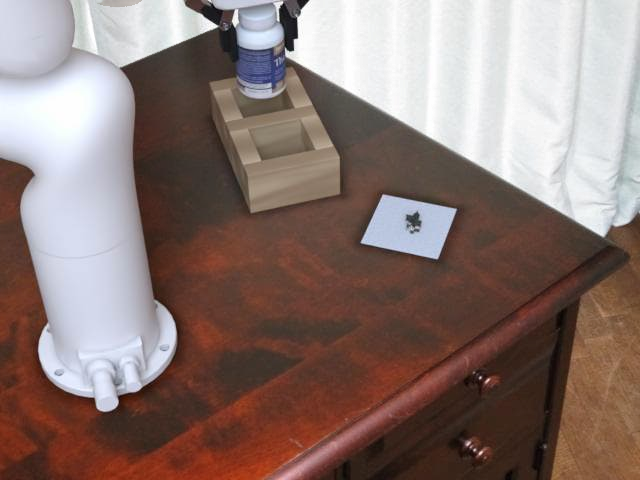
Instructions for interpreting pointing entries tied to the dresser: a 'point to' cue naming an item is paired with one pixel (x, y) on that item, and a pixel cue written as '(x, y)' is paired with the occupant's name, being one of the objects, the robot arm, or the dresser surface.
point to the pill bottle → (260, 52)
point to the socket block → (275, 145)
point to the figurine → (409, 226)
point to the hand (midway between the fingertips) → (259, 48)
